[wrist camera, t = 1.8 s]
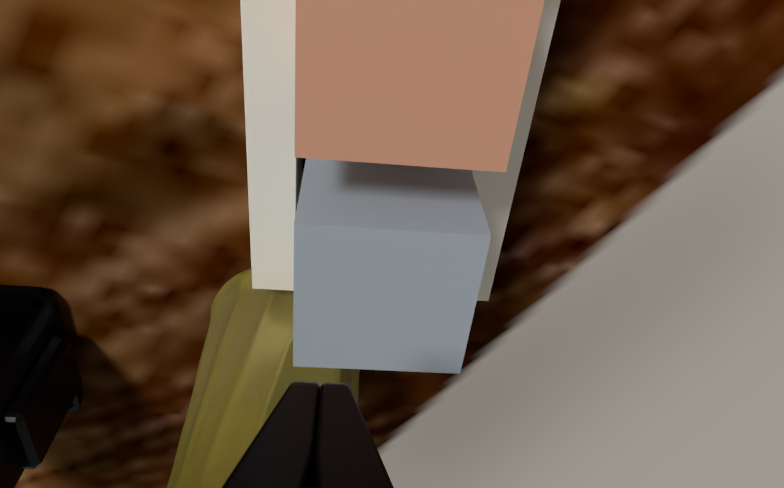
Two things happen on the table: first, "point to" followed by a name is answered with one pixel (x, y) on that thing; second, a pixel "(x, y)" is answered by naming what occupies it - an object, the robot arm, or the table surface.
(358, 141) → the salmon block
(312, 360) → the pale blue block
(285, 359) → the vase
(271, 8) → the button board
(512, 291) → the table surface
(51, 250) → the table surface
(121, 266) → the table surface
